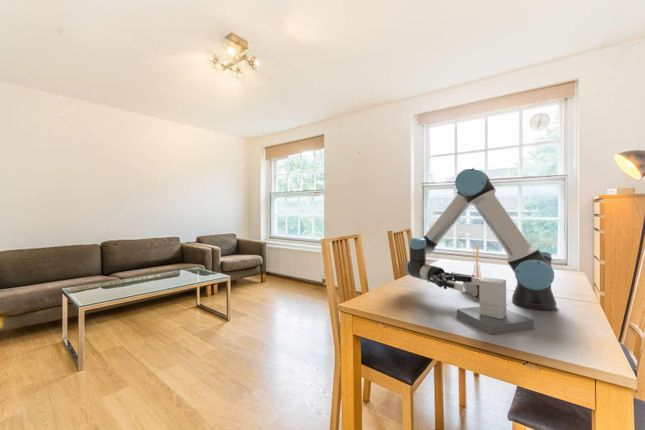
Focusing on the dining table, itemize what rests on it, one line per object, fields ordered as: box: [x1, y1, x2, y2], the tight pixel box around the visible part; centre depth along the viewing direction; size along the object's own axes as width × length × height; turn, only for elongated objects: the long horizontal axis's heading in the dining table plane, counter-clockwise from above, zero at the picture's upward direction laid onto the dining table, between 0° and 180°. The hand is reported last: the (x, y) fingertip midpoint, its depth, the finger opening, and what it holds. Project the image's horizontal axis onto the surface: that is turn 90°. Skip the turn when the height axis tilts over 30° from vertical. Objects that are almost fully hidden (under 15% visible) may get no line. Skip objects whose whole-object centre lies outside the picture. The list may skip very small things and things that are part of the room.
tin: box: [462, 282, 479, 299], centre depth 134 cm, size 15×3×8 cm, turn 178°
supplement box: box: [478, 276, 507, 319], centre depth 101 cm, size 7×7×13 cm
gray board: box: [456, 306, 535, 336], centre depth 102 cm, size 18×16×3 cm
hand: (475, 285), depth 108 cm, fingers open, 13 cm apart
